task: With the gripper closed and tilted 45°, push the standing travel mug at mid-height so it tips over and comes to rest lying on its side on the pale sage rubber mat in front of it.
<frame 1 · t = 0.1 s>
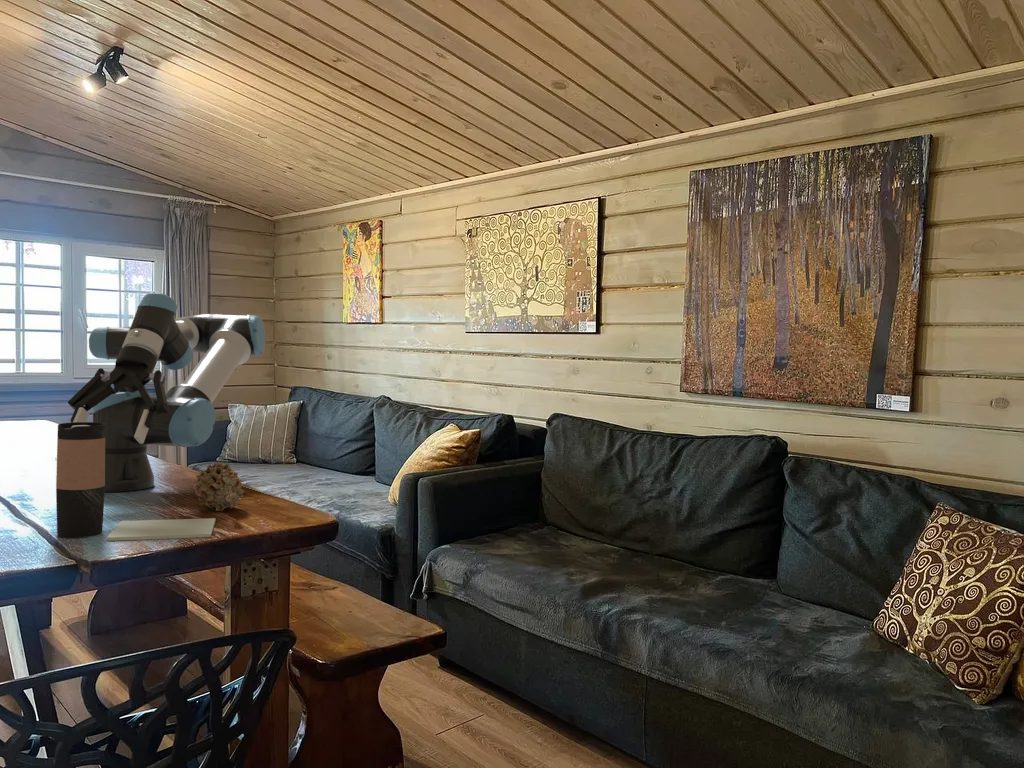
hand: (105, 439, 148), 15 cm above the table, tool tilted 35°, fingers open, 13 cm apart
travel mug: (80, 534, 134), on the table
pine cone: (223, 513, 155), on the table
mug mat: (164, 530, 138), on the table
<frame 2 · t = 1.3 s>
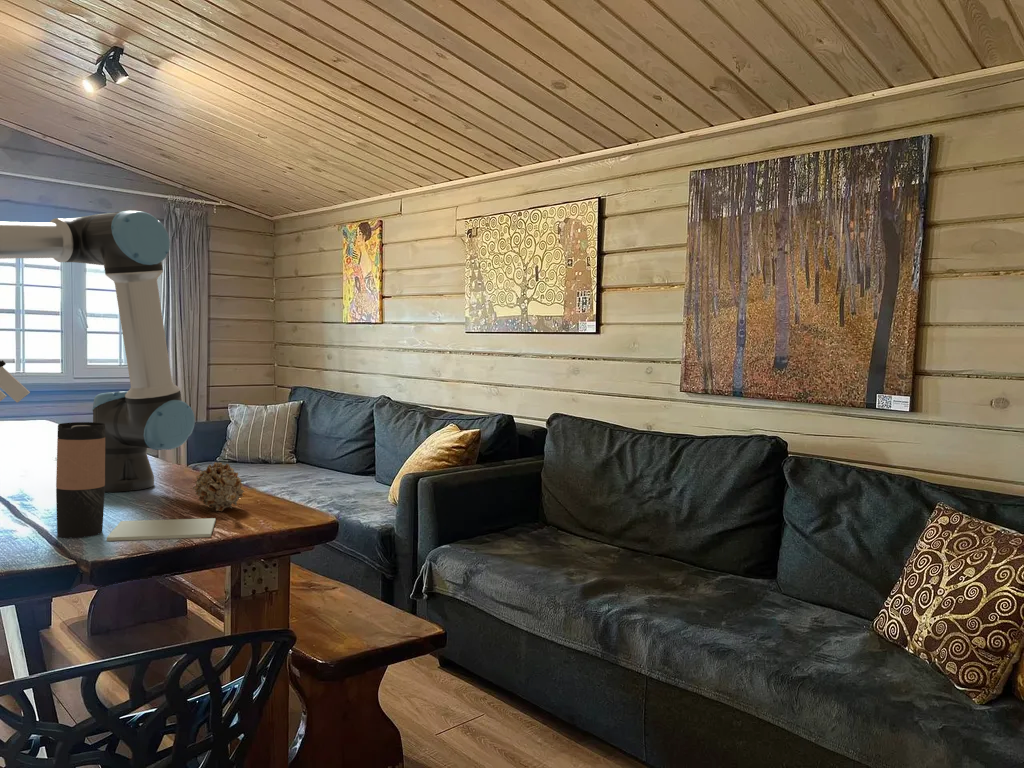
hand: (12, 399, 129), 24 cm above the table, tool tilted 45°, fingers open, 12 cm apart
nothing on the table moved.
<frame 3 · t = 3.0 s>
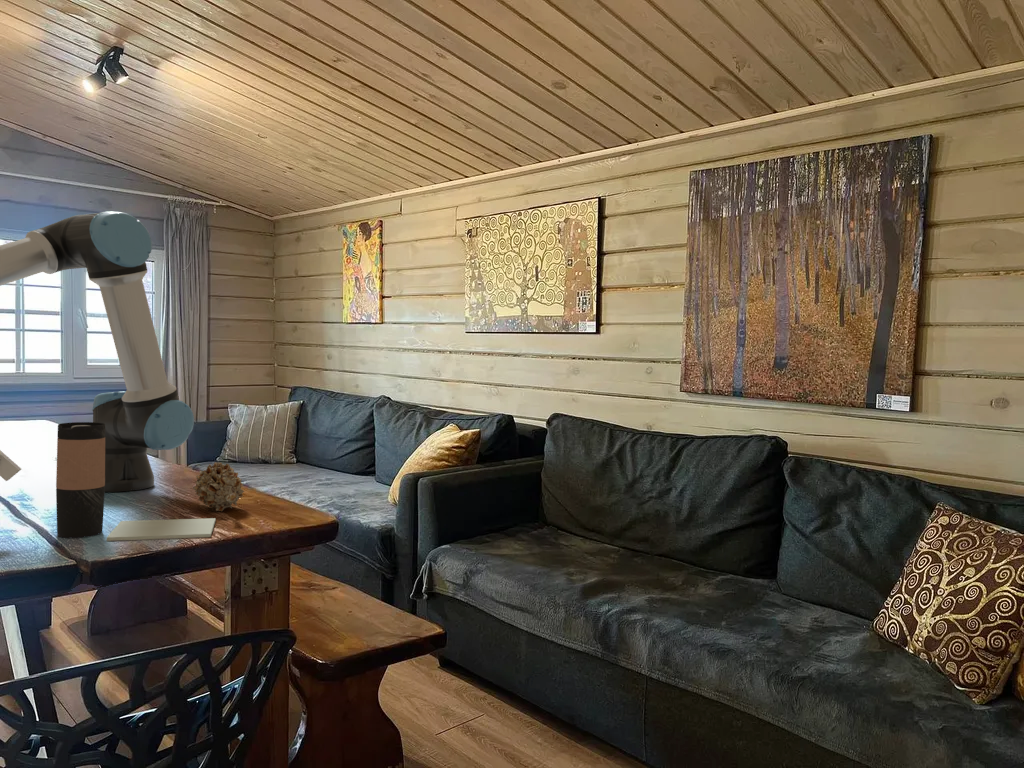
hand: (13, 474, 130), 11 cm above the table, tool tilted 45°, fingers closed
nothing on the table moved.
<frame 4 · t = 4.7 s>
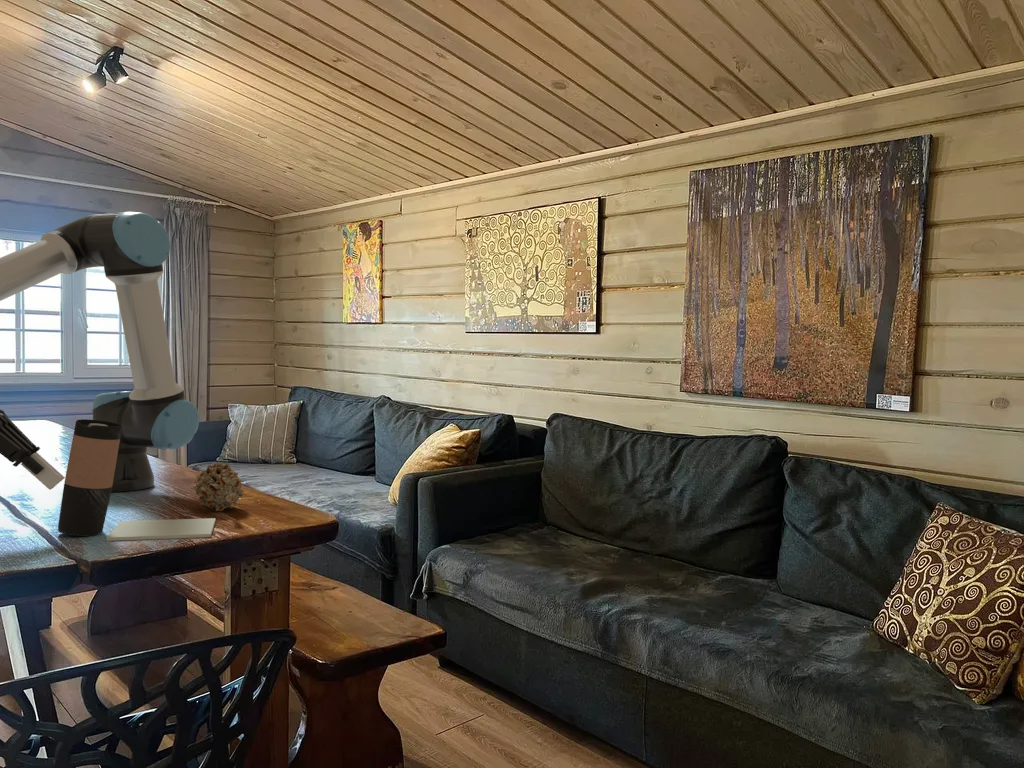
hand: (57, 483, 131), 9 cm above the table, tool tilted 45°, fingers closed
travel mug: (80, 532, 134), on the table, touching gripper
everything else where it was.
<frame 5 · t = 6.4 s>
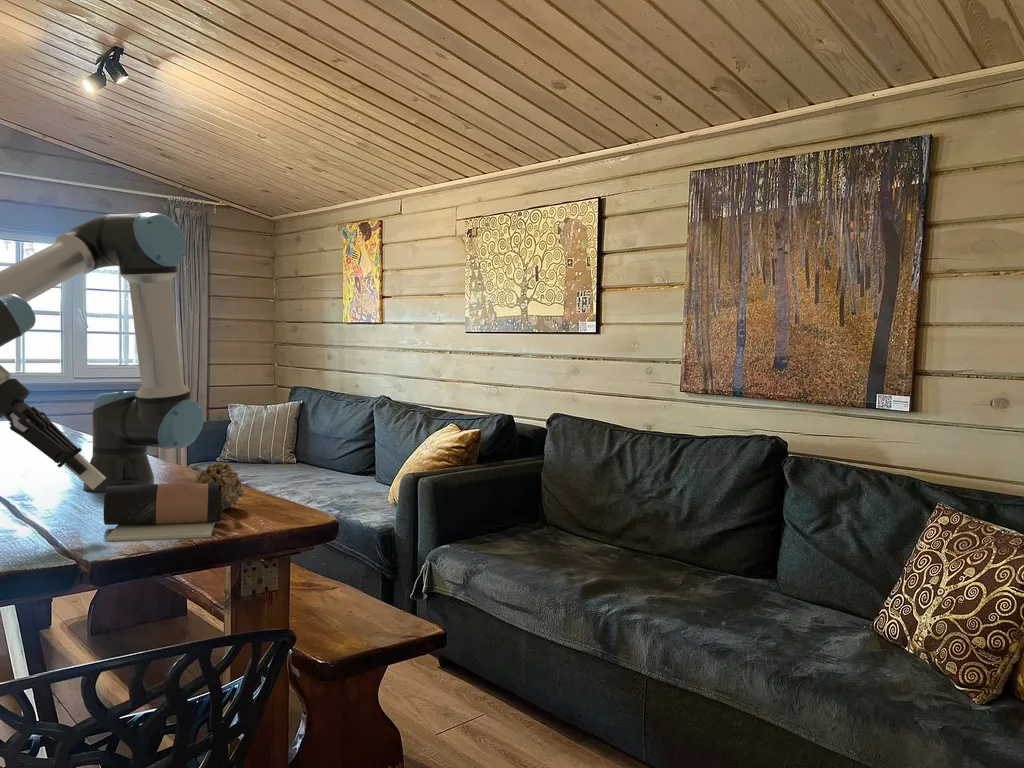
hand: (99, 483, 134), 9 cm above the table, tool tilted 45°, fingers closed
travel mug: (104, 505, 137), point 5 cm above the table, touching mug mat
everything else where it was.
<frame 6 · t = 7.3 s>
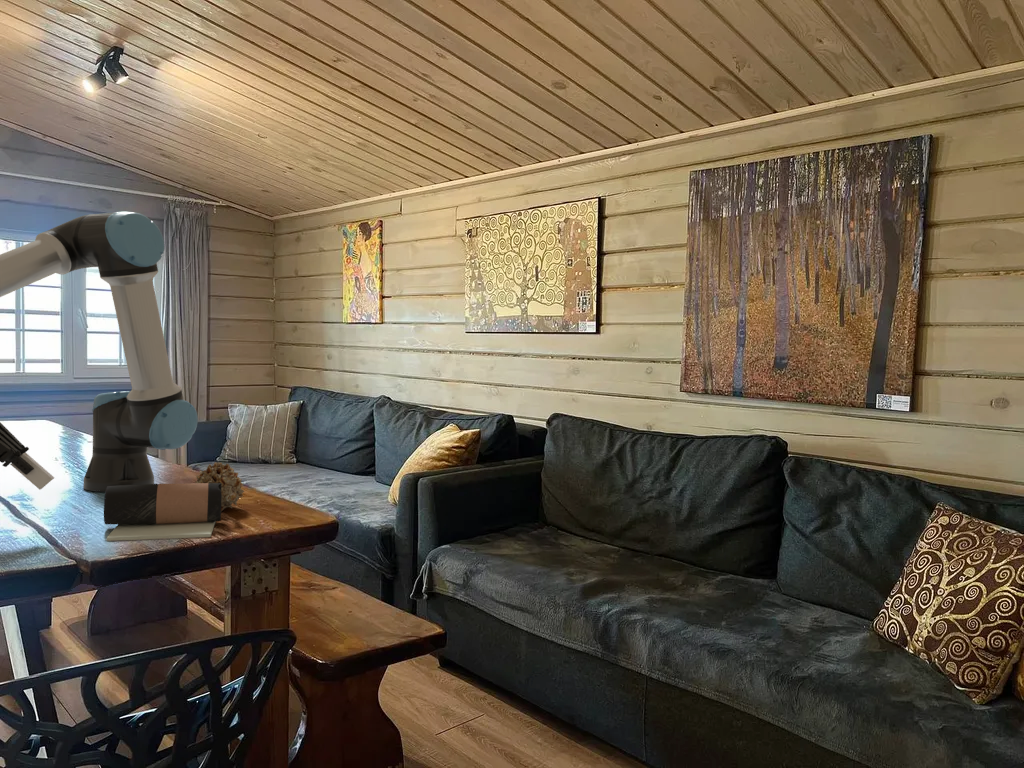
hand: (47, 483, 132), 9 cm above the table, tool tilted 45°, fingers closed
nothing on the table moved.
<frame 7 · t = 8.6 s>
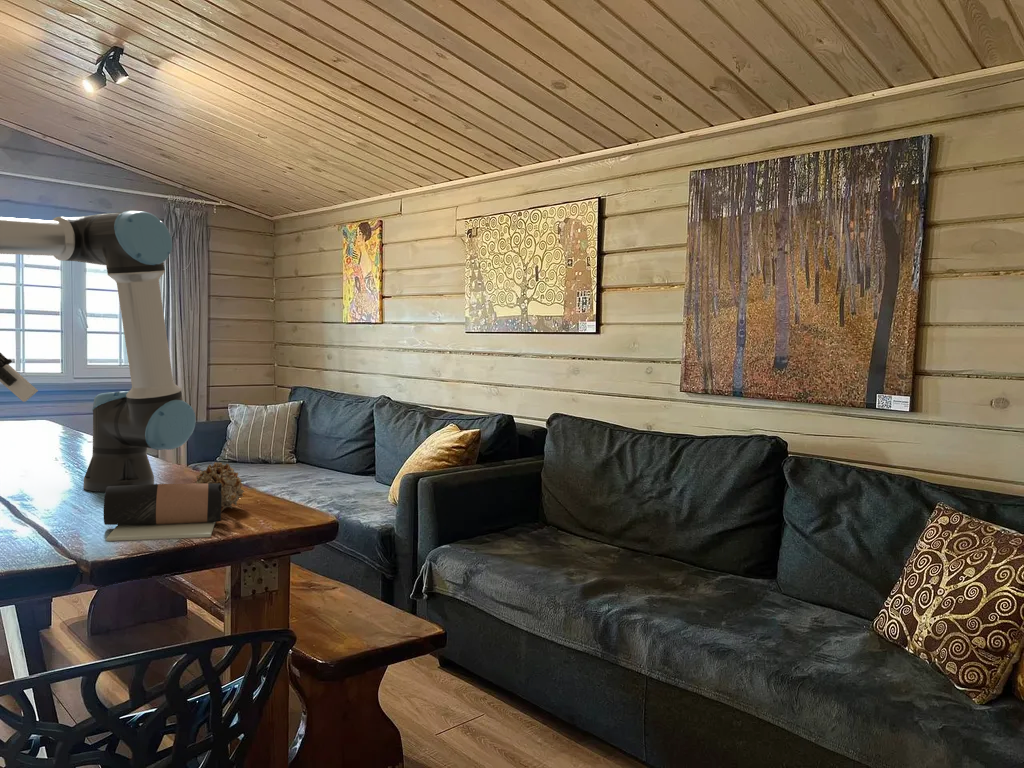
hand: (30, 396, 130), 25 cm above the table, tool tilted 45°, fingers closed
nothing on the table moved.
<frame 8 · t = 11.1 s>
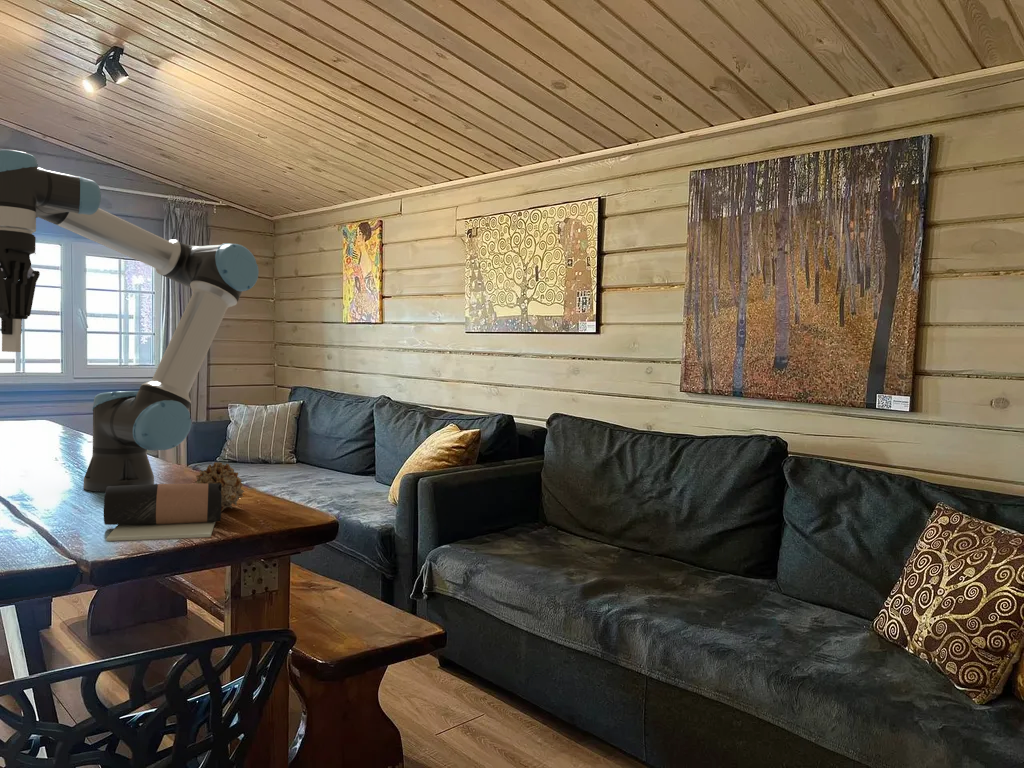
hand: (11, 351, 145), 32 cm above the table, tool pointing down, fingers closed
nothing on the table moved.
at the end: travel mug tilted 91°; travel mug touching mug mat; travel mug moved 6.3 cm from its start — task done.
